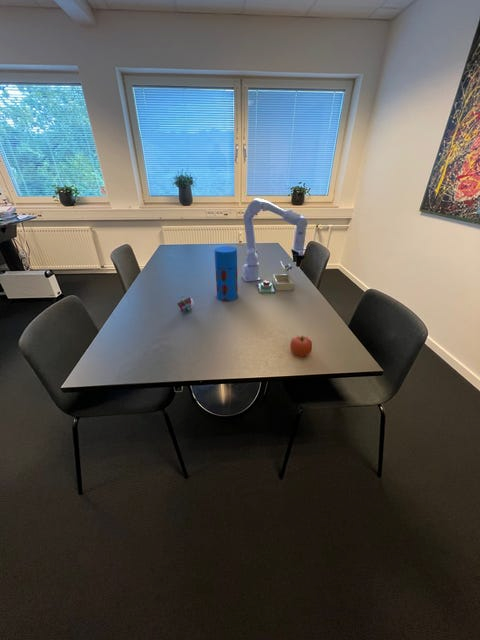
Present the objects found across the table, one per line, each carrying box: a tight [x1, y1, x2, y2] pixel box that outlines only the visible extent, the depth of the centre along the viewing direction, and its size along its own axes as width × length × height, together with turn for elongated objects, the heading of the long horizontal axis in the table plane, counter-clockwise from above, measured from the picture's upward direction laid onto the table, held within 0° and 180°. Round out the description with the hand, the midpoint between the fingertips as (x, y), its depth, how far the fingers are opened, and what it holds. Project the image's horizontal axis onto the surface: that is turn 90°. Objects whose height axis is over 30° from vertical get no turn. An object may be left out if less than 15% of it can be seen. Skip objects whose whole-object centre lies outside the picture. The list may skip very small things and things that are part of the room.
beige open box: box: [272, 273, 295, 291], centre depth 146 cm, size 9×13×4 cm
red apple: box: [289, 335, 313, 357], centre depth 93 cm, size 8×8×7 cm
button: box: [262, 279, 270, 285], centre depth 142 cm, size 3×3×2 cm
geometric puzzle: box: [177, 296, 195, 312], centre depth 121 cm, size 7×7×8 cm
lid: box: [279, 260, 295, 284], centre depth 142 cm, size 10×13×4 cm
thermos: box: [214, 245, 239, 302], centre depth 129 cm, size 11×11×25 cm
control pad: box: [257, 281, 276, 294], centre depth 143 cm, size 8×11×3 cm
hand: (296, 264), depth 147 cm, fingers open, 7 cm apart
